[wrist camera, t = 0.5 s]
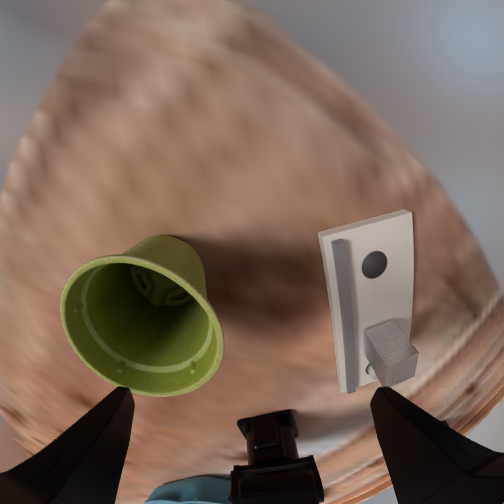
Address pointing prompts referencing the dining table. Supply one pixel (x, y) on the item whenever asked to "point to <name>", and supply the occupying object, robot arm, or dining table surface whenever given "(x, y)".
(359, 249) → the plate
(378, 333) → the slider
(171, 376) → the plant pot
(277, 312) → the dining table surface
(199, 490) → the casserole dish
